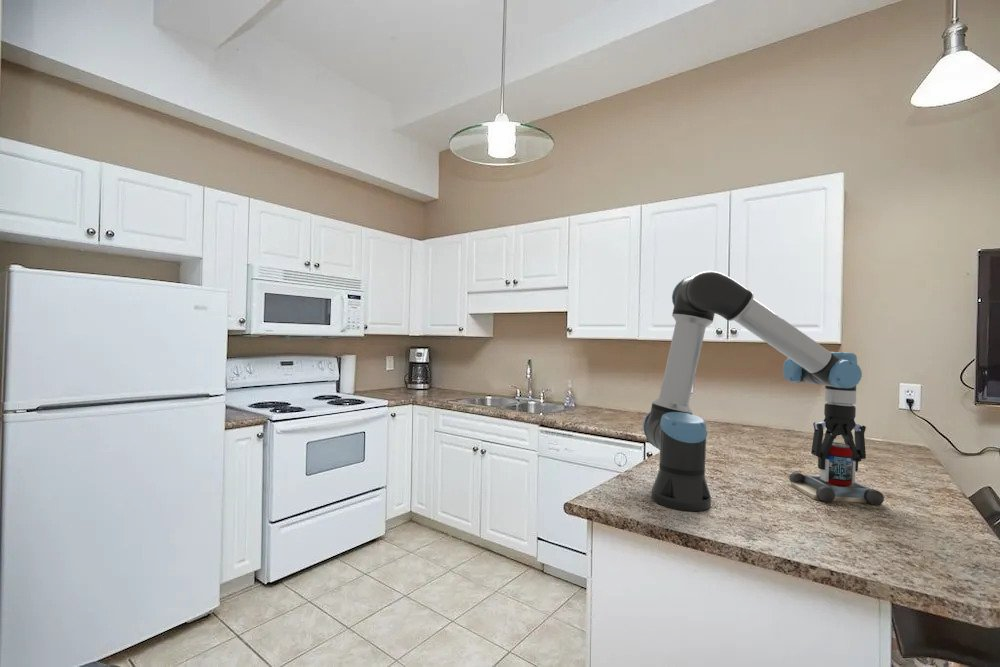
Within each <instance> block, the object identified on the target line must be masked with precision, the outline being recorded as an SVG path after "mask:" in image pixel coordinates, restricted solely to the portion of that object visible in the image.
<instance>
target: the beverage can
mask: <svg viewBox="0 0 1000 667" xmlns="http://www.w3.org/2000/svg"><path fill="white" fill-rule="evenodd" d="M826 459H828V460H829V480H828V482H827V483H828V484H830V485H833V486H837V487H847V486H850V485H851V481H852V450H851V448H850V446H849V445H847V444H845V443H843V442H834V441H833V443H832V446H831V448H830V450H829V453H828V455H827V458H826Z"/></svg>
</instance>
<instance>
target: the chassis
mask: <svg viewBox="0 0 1000 667" xmlns="http://www.w3.org/2000/svg"><path fill="white" fill-rule="evenodd" d="M789 481H790V487H792V488H793V489H795V490H797V491H799V492H801V493H802V494H804V495H806V496H807V497H809V498H811V499H812V500H817V501H822V502H825V503H832V502H833V501H834V502H836V501H837V502H847V503H849V502H850V503H851V502H852V503H865V504H866V503H868V504H872V505H873V506H880V505H881V504H883V503H884V501H885V496H884V494H883V493H882V492H881V491H879V490H877V489H874V488H870V487H868V486H865V485H863V484H861V483H859V482H857V481H855V483H851V485H850V486H847V487H837V486H833V485H830V484H828V483H827V482H825V481H823V480H821V479H820V475H809V474H802V473H801V472H798V471H793V472H792V473H791V474H790V475H789Z"/></svg>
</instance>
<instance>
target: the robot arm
mask: <svg viewBox="0 0 1000 667" xmlns="http://www.w3.org/2000/svg"><path fill="white" fill-rule="evenodd" d="M671 294H672V295H671V299H672V304H673V311H672V313H671V314H672V315H671V316H672V317H673V319H674V321H675V324H674V329H673V334H672V337H671V343H670V347H669V351H668V356H667V360H666V365H665V369H664V374H663V379H662V384H661V386H660V392H659V395H658V396H659V397H658V398H657V399H655V400H653V401H652V403H651V408H650V411H649V412H648V413H647V415H646V416H645V418H644V420H643V425H642V429H643V433H644V434H643V435H644V436H645V438H646V439H647V440H648V442H649V443H650V445H651V446H653V447H655V448H656V449H658V451H659V465H658V473H657V476H656V478H655V480H654V482H653V485H652V489H651V499H652V500H653V501H654V502H656V503H657V504H659V505H661V506H662V507H663V506H664V507H666V508H669V509H675V510H679V511H685V512H686V511H687V512H704V511H707V510H709V509H710V508H711V506H712V497H711V494H710V490H709V486H708V483H707V480H706V459H707V457H706V452H707V438H708V437H707V436H708V432H707V431H708V430H707V423H706V421H705V420H704V419H703V418H702V417H700V416H698V415H696V414H693V410H692V409H691V407H690V405H689V404H690V400H691V399H690V398H691V394H692V390H693V386H694V381H695V377H696V372H697V370H698V369H697V368H698V364H699V359H700V355H701V350H702V346H703V342H704V338H705V332H706V328H707V327H709V326H710V325H712V324H713V322H714V318H715V314H716V315H719V316H721V317H722V318H723V319H725V320H727V321H728V322H731V321H734V322H735V323H738V324H739V325H740V326H742V327H744V329H746V330H747V331H749V332H750V333H751V334H753V335H754V336H756V337H758V338H759V339H760V340H762V341H764V342H765V343H767V344H768V345H769V346H771V347H772V348H774V350H776V351H777V352H779V353H780V354H782V355H784V356H785V357H786V359H785V360H784V362H783V365H782V374H783V377H784V379H786V380H787V381H788V382H791V383H792V382H793V383H798V384H799V383H804V384H805V383H806V384H813V385H819V386H820V385H821V386H824V388H825V389H824V402H825V403H824V412H823V414H824V419H823V420H822V421H820V422H817V421H814V422H813V430H814V432H813V436H812V437H813V438H812V445H811V451H810V454H811V455H813V456H815V457H817V459H818V461H817V467H818V469H819V470H820V472H819V473H820V474H819V476H820V479H821V480H823V481H825V482H828V480H829V460H828V459H826V458H827V455H828V453H829V450H830V448H831V446H832V443H833V442H834V440H835V439H837V436H841V438H842V439H843V441H844V444H847V445H849V446H850V448H851V450H852V481H851V483H855V482H856V472H858V471H859V463H860V462H862V460H865V459H867V453H866V441H865V439H866V438H865V432H866V429H867V426H865V425H863V424H860V423H859V424H858V423H856V421H855V418H856V413H857V410H856V409H857V408H856V406H855V405H856V404H857V385H858V384H859V383H860V381H861V380H862V377H863V376H862V375H863V373H862V368H861V367H860V366H859V365H858V357H857V354H856V353H853V352H842V351H841V352H838V351H829V350H828V349H827V348H825V347H824V346H822V345H821V344H819V343H818V342H816V341H815V340H814V339H812V338H811V337H810V336H808V335H807V334H805V333H803V331H801V330H799V329H798V328H797V327H795V326H794V325H793V324H791V323H789V322H788V321H787V320H785V319H784V318H782V317H781V316H779V315H778V314H776V313H775V312H773V310H770V308H768V307H767V306H765V305H764V304H762V303H761V302H759V301H758V300H757V299H755V298H754V292H752V291H751V290H749V289H747V288H746V287H745V286H743V285H742V284H740V283H739V281H736V280H734V279H733V278H731V277H729V276H728V275H725V274H724V273H722V272H718V271H713V270H712V271H711V270H707V271H702V272H699V273H698V274H694V275H689V276H687V277H684V278H683V279H682V280H681V281H679V282H678V283H677V284H676V285H675V287H674V289H673V291H672V293H671ZM825 428H826V430H825ZM824 430H825V433H824ZM853 430H854V433H852V431H853ZM853 434H854V435H853Z"/></svg>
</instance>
